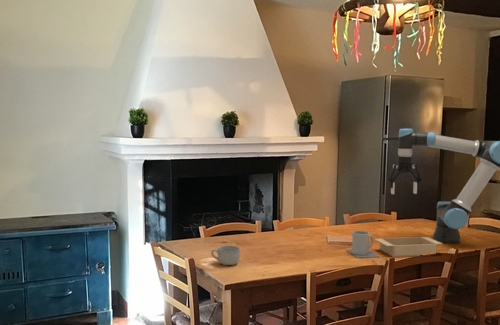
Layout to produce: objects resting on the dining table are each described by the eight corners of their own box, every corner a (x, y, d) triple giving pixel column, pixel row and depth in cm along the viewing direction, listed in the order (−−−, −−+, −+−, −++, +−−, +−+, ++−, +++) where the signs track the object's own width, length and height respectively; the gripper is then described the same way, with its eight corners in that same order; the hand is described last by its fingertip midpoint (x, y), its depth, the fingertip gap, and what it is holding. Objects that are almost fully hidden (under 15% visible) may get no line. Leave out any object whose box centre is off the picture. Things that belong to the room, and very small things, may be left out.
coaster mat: (367, 249, 256) (367, 248, 256) (379, 257, 242) (379, 256, 242) (346, 250, 254) (346, 249, 254) (357, 258, 240) (357, 257, 240)
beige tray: (426, 247, 263) (426, 236, 262) (443, 255, 246) (443, 243, 246) (373, 249, 257) (373, 238, 257) (387, 257, 241) (387, 246, 241)
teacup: (239, 260, 234) (240, 244, 233) (240, 267, 223) (240, 250, 222) (211, 260, 233) (211, 244, 233) (210, 267, 222) (210, 250, 222)
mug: (357, 256, 242) (358, 234, 241) (348, 251, 250) (349, 231, 249) (377, 254, 246) (378, 233, 246) (367, 250, 254) (368, 229, 253)
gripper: (422, 155, 272) (420, 192, 274) (381, 155, 268) (380, 193, 269) (429, 156, 265) (427, 194, 266) (387, 156, 260) (386, 195, 262)
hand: (403, 193), depth 268 cm, fingers open, 13 cm apart
